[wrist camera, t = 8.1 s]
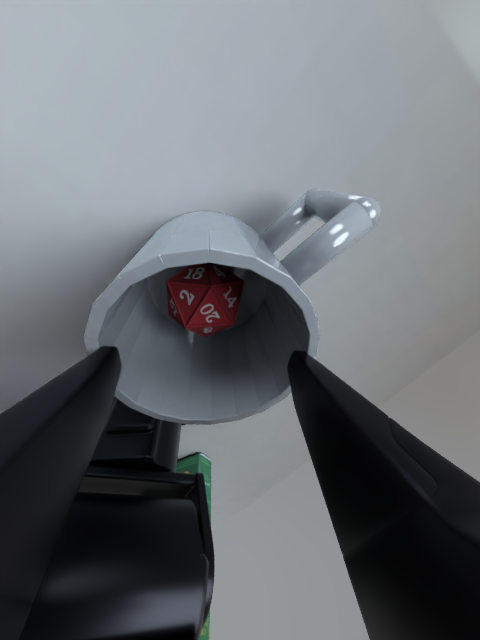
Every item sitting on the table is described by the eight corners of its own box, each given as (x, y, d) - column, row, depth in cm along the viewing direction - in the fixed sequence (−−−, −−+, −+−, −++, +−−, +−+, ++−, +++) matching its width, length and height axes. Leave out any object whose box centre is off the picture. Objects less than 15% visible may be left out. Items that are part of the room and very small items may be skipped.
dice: (251, 292, 14) (265, 330, 10) (189, 319, 14) (183, 363, 11) (225, 236, 12) (232, 261, 8) (154, 271, 12) (134, 307, 9)
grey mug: (210, 349, 17) (211, 442, 11) (113, 280, 13) (35, 368, 7) (341, 247, 13) (441, 304, 8) (262, 111, 9) (346, 14, 4)
